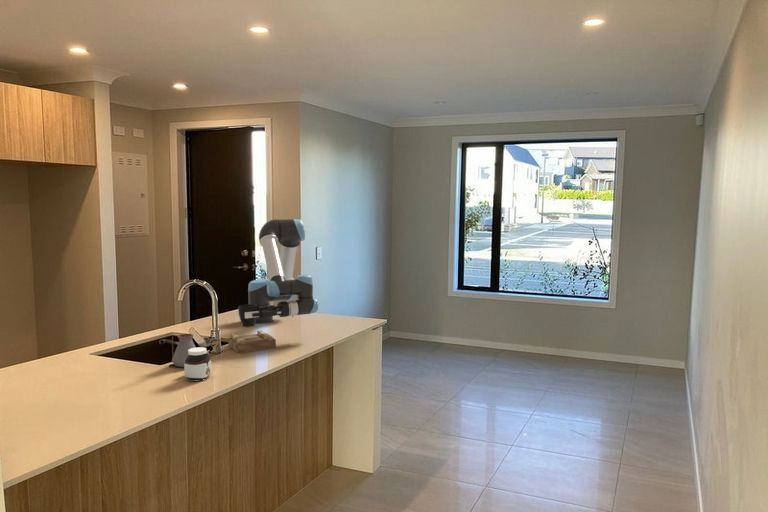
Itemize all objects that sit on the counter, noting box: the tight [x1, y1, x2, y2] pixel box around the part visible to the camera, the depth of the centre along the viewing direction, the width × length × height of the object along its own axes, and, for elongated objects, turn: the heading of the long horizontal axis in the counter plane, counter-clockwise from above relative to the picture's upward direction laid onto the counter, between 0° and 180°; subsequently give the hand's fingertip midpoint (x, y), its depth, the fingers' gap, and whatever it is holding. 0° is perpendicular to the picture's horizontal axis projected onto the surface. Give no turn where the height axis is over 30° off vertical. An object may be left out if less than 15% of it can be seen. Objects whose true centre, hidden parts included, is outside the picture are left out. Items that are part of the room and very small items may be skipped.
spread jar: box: [183, 346, 212, 381], centre depth 228 cm, size 12×11×12 cm
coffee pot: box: [159, 333, 197, 368], centre depth 239 cm, size 21×12×15 cm, turn 163°
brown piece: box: [227, 330, 277, 354], centre depth 273 cm, size 15×18×6 cm
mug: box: [237, 303, 259, 328], centre depth 272 cm, size 8×12×10 cm
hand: (241, 313), depth 269 cm, fingers closed on mug, 9 cm apart
